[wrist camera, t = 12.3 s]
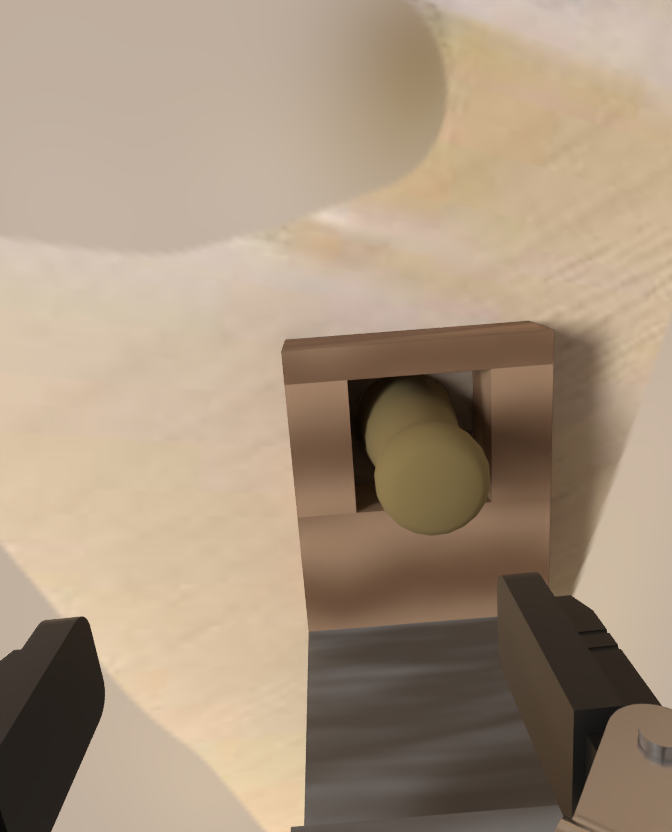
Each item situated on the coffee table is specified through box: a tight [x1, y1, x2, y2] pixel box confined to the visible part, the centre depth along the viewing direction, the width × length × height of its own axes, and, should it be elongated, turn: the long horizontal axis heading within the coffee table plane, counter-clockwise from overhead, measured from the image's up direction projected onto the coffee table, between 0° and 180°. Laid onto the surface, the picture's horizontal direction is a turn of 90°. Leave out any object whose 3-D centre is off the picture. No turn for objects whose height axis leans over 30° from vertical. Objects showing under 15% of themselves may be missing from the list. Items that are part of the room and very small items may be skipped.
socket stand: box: [281, 321, 563, 832], centre depth 28 cm, size 18×14×22 cm
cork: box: [354, 374, 491, 536], centre depth 32 cm, size 6×6×11 cm
